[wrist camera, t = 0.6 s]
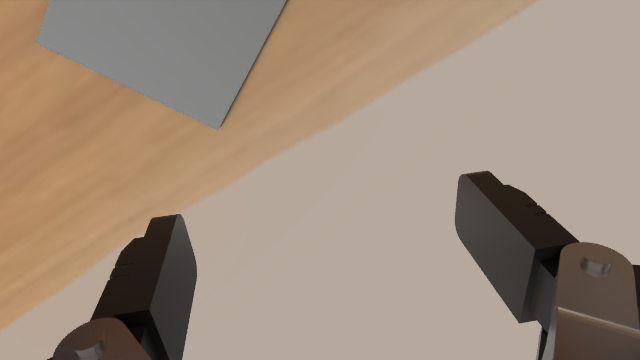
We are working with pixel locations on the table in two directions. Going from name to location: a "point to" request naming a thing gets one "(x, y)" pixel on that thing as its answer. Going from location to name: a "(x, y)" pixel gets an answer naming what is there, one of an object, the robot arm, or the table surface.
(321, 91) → the table surface
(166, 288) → the robot arm
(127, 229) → the table surface
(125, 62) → the mat
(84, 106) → the table surface
